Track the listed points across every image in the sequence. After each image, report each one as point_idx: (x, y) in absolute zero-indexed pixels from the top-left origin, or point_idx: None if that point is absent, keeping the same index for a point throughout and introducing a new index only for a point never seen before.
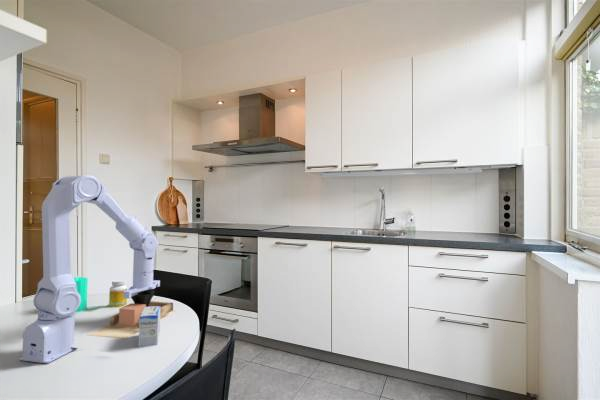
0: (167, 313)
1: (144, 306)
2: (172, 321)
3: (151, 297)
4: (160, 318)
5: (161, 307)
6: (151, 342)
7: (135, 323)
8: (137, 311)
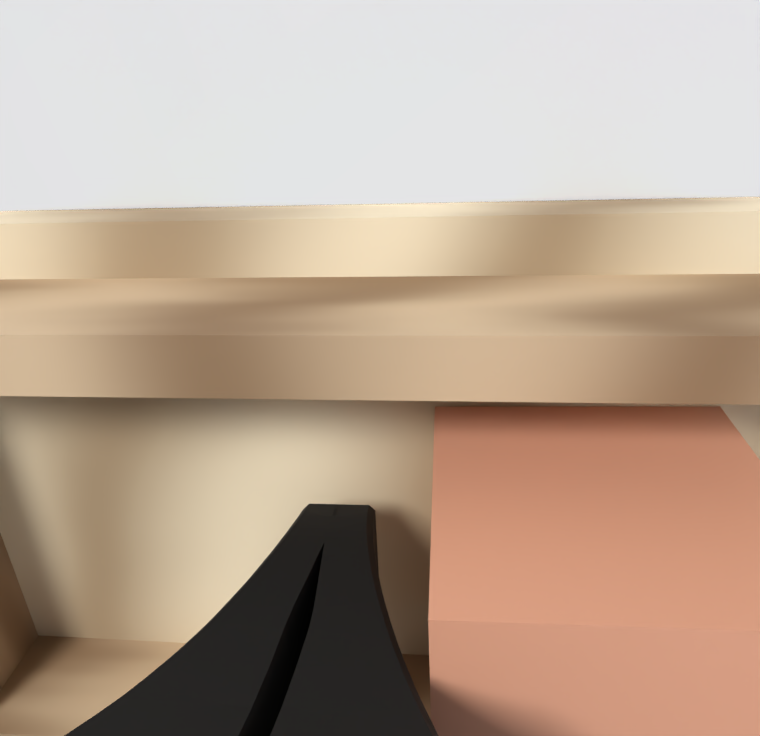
0: (15, 278)
1: (484, 594)
2: (185, 16)
3: (136, 720)
4: (260, 243)
5: (61, 389)
6: None
7: (703, 433)
8: (741, 571)
